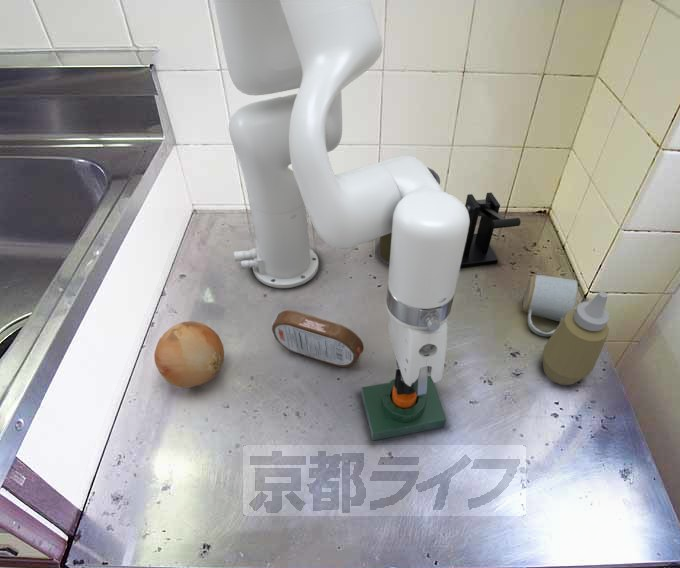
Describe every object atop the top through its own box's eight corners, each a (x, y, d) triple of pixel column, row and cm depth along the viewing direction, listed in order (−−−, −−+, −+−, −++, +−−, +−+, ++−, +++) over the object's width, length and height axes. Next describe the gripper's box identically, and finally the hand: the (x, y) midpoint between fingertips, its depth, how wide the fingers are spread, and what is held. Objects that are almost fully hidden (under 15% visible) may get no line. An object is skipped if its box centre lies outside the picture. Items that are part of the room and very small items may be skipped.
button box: (372, 440, 68) (373, 426, 65) (361, 395, 73) (362, 380, 70) (444, 427, 70) (448, 413, 67) (428, 383, 76) (431, 368, 73)
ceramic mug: (522, 293, 91) (533, 263, 85) (565, 302, 90) (580, 272, 84) (518, 333, 84) (530, 303, 78) (564, 343, 83) (580, 314, 77)
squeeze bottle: (587, 396, 75) (638, 320, 62) (536, 386, 76) (575, 309, 63) (583, 357, 81) (629, 280, 68) (535, 348, 82) (571, 270, 68)
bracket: (496, 264, 96) (512, 211, 87) (460, 268, 95) (472, 215, 85) (480, 237, 102) (494, 185, 93) (446, 241, 101) (456, 188, 91)
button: (395, 410, 68) (396, 403, 66) (389, 389, 70) (390, 382, 69) (419, 405, 68) (420, 399, 67) (412, 385, 71) (413, 379, 69)
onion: (216, 404, 71) (200, 364, 63) (153, 394, 72) (130, 353, 64) (239, 355, 77) (227, 313, 70) (181, 345, 78) (163, 303, 71)
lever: (519, 229, 82) (521, 216, 81) (493, 232, 81) (494, 219, 80) (490, 210, 93) (491, 198, 91) (466, 213, 92) (467, 200, 90)
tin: (363, 361, 78) (365, 328, 72) (356, 376, 76) (357, 343, 70) (281, 336, 81) (275, 301, 74) (272, 349, 78) (266, 315, 72)
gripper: (473, 341, 50) (448, 429, 63) (431, 252, 59) (417, 345, 73) (405, 352, 48) (393, 440, 62) (373, 259, 58) (369, 352, 71)
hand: (406, 388), depth 67 cm, fingers closed
